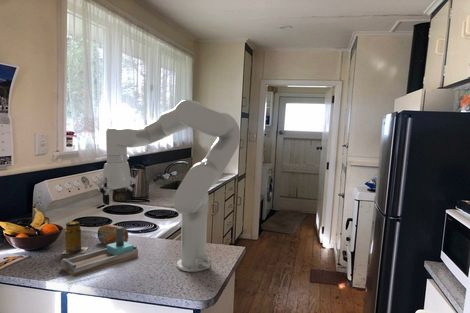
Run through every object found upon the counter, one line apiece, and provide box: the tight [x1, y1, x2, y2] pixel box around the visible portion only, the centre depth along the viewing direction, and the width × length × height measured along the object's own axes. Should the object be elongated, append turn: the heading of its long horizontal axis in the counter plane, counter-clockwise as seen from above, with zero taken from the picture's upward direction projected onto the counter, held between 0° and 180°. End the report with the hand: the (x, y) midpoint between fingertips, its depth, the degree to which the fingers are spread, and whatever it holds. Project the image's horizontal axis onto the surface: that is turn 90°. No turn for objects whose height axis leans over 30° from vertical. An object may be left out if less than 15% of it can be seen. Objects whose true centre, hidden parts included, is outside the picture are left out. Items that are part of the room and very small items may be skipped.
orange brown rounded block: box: [97, 224, 129, 246], centre depth 156 cm, size 15×3×8 cm, turn 70°
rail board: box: [60, 244, 139, 278], centre depth 136 cm, size 10×26×4 cm, turn 140°
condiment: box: [61, 220, 89, 255], centre depth 147 cm, size 7×8×12 cm
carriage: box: [106, 226, 134, 256], centre depth 142 cm, size 8×7×10 cm
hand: (117, 202), depth 140 cm, fingers open, 9 cm apart
